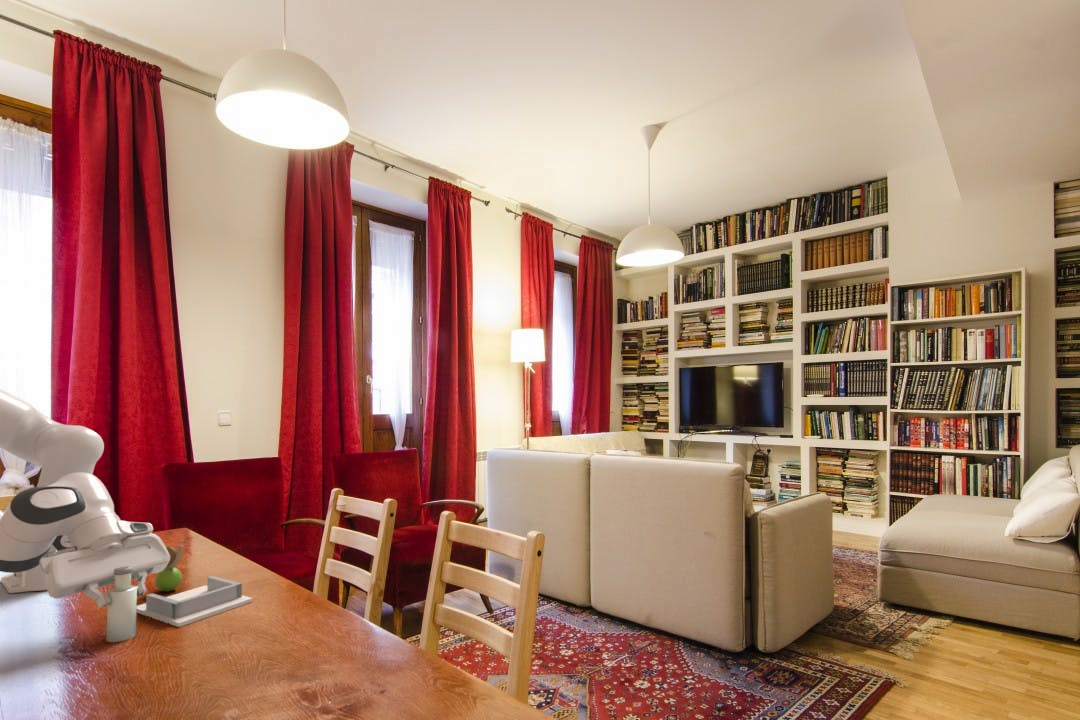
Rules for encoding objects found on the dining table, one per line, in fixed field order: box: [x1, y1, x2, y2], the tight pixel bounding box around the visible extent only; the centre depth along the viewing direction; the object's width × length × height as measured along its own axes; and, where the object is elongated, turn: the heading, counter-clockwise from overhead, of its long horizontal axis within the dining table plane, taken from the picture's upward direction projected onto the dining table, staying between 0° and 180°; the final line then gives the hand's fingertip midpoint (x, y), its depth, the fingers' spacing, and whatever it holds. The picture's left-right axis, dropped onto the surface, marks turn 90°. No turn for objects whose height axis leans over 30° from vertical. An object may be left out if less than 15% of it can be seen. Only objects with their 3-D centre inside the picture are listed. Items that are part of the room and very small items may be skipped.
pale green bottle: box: [106, 566, 138, 643], centre depth 114 cm, size 5×5×13 cm
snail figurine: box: [154, 539, 185, 593], centre depth 139 cm, size 5×6×12 cm
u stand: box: [136, 575, 254, 628], centre depth 129 cm, size 18×16×4 cm
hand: (124, 599), depth 113 cm, fingers open, 5 cm apart
